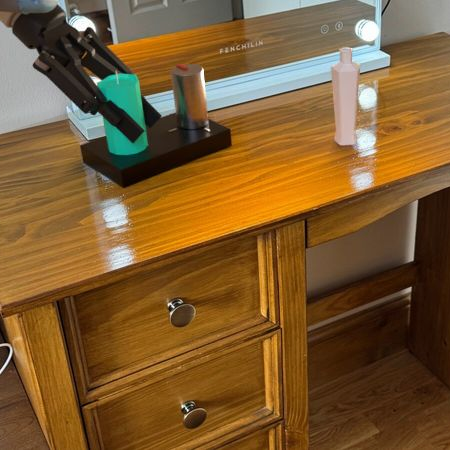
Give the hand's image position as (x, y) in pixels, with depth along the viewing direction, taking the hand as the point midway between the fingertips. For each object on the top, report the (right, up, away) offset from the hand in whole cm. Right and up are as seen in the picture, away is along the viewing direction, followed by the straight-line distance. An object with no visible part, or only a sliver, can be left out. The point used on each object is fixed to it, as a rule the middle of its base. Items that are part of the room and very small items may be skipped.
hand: (147, 129), depth 114 cm
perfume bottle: (+30, -1, +9) cm, 32 cm away
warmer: (0, -3, +7) cm, 8 cm away
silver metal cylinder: (+5, +2, +9) cm, 11 cm away
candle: (-3, -2, +3) cm, 5 cm away
